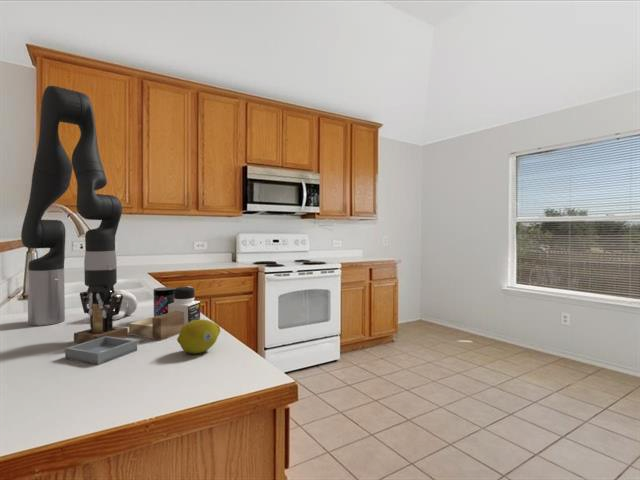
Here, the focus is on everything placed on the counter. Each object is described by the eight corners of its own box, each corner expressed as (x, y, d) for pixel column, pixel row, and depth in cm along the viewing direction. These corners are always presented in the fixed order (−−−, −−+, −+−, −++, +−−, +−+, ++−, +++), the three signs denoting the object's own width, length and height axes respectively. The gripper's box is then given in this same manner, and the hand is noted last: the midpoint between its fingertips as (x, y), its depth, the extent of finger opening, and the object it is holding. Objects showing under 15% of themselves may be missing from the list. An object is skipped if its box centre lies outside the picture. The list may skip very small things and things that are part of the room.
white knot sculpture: (139, 312, 133) (139, 287, 133) (135, 319, 122) (135, 293, 122) (104, 314, 129) (103, 289, 129) (96, 322, 118) (96, 295, 118)
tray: (65, 358, 85) (65, 348, 85) (106, 345, 95) (106, 335, 95) (98, 365, 81) (98, 353, 81) (137, 350, 91) (137, 340, 91)
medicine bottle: (188, 328, 112) (188, 289, 111) (167, 327, 113) (167, 288, 113) (200, 322, 119) (200, 286, 118) (180, 321, 120) (180, 285, 120)
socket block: (74, 342, 97) (73, 333, 97) (104, 333, 106) (104, 325, 106) (98, 346, 94) (98, 336, 94) (127, 336, 102) (127, 328, 102)
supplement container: (150, 319, 123) (150, 288, 123) (171, 316, 127) (171, 286, 127) (157, 323, 118) (156, 291, 118) (178, 319, 122) (178, 289, 122)
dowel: (89, 340, 99) (89, 304, 98) (102, 336, 102) (102, 301, 102) (100, 342, 97) (99, 305, 97) (113, 338, 101) (112, 302, 101)
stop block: (152, 339, 101) (152, 317, 100) (176, 330, 109) (175, 310, 109) (161, 340, 100) (160, 318, 99) (184, 331, 108) (184, 311, 108)
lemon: (181, 361, 84) (180, 326, 84) (172, 351, 90) (172, 319, 90) (226, 352, 90) (226, 320, 90) (215, 344, 97) (215, 314, 96)
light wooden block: (128, 335, 105) (128, 323, 105) (151, 328, 113) (150, 317, 113) (155, 339, 102) (155, 326, 102) (176, 332, 109) (176, 320, 109)
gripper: (68, 267, 98) (69, 330, 99) (107, 270, 93) (108, 336, 94) (94, 265, 105) (95, 324, 106) (131, 267, 100) (132, 329, 101)
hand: (101, 329), depth 100 cm, fingers closed on dowel, 4 cm apart
